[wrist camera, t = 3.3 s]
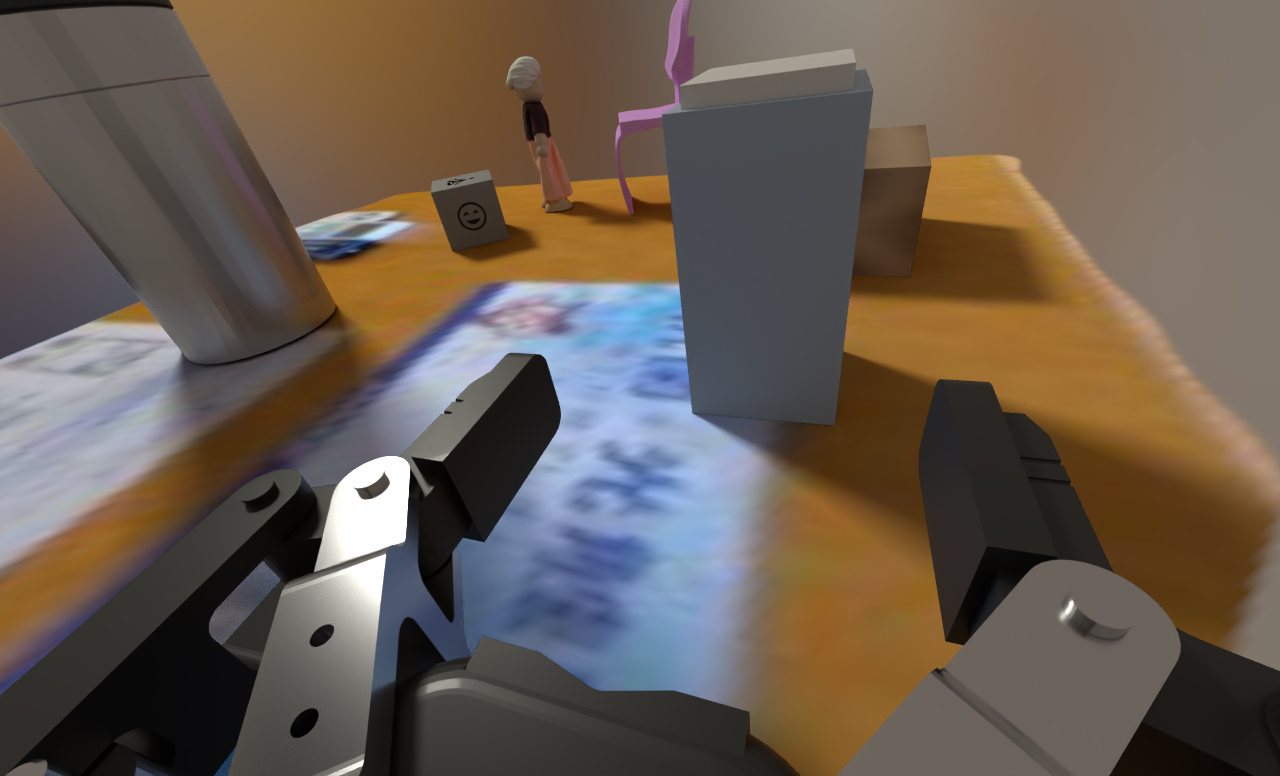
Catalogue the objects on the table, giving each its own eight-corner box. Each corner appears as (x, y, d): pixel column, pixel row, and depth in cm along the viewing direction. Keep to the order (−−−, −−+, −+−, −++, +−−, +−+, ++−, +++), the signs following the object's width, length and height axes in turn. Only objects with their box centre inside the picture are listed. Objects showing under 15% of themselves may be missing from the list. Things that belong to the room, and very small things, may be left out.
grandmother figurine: (587, 207, 48) (556, 51, 41) (550, 217, 47) (511, 59, 40) (561, 193, 54) (531, 55, 47) (528, 202, 53) (491, 61, 45)
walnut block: (732, 274, 31) (729, 175, 28) (764, 221, 39) (765, 136, 35) (909, 280, 28) (931, 166, 24) (908, 219, 35) (925, 124, 31)
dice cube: (452, 236, 47) (432, 181, 44) (504, 224, 48) (488, 169, 45) (452, 252, 43) (430, 192, 40) (509, 238, 44) (492, 179, 41)
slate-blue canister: (692, 413, 20) (659, 90, 14) (717, 343, 25) (701, 69, 18) (834, 425, 19) (876, 61, 12) (835, 348, 23) (867, 45, 16)
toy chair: (622, 195, 50) (594, 11, 41) (709, 181, 50) (698, -8, 41) (624, 219, 43) (590, 5, 35) (724, 204, 43) (715, -17, 34)
